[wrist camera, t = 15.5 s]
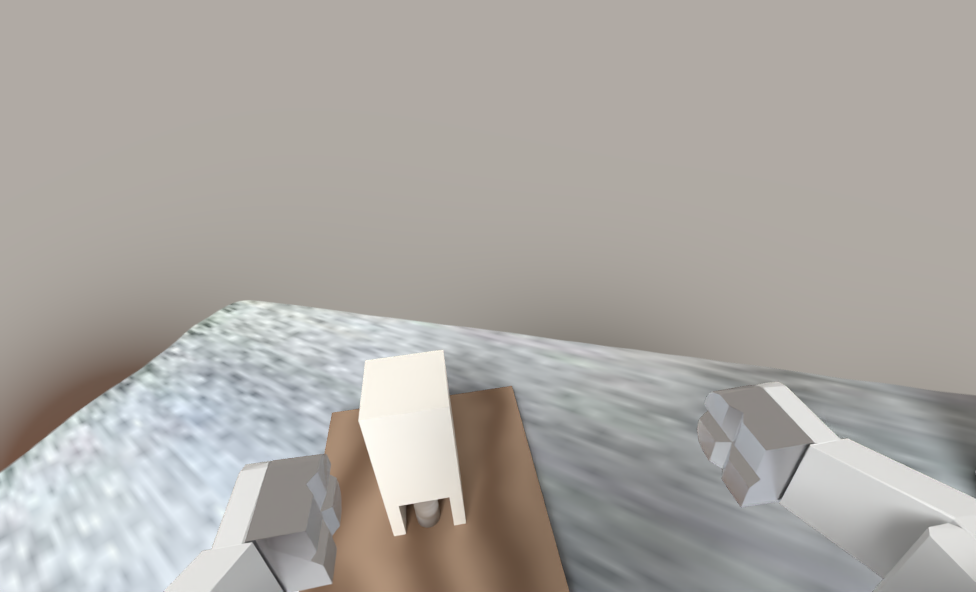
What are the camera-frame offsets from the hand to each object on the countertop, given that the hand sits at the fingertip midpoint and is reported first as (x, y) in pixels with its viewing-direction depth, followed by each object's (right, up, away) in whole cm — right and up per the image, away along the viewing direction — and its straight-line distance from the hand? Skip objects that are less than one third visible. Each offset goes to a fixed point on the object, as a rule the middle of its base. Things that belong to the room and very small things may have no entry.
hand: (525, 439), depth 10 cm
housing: (-6, -15, +30) cm, 34 cm away
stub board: (-6, -16, +31) cm, 35 cm away
